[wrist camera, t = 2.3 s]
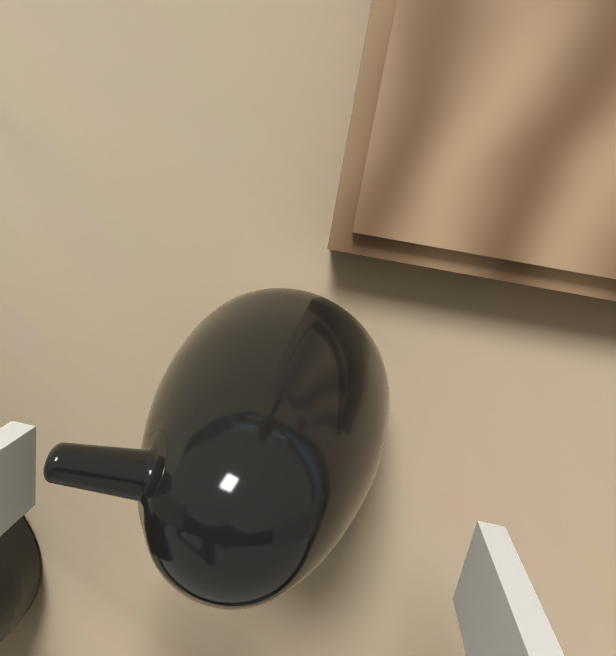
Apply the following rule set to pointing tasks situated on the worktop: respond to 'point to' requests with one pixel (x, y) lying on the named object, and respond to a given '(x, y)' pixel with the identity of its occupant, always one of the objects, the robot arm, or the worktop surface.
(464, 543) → the worktop surface
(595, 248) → the walnut tray
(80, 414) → the worktop surface
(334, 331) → the pump dispenser
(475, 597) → the robot arm
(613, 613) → the worktop surface
